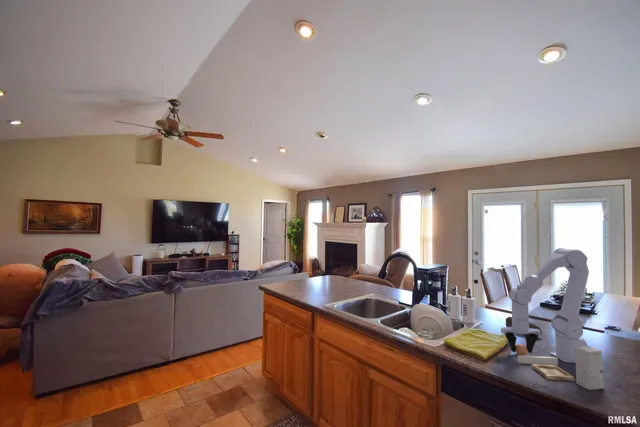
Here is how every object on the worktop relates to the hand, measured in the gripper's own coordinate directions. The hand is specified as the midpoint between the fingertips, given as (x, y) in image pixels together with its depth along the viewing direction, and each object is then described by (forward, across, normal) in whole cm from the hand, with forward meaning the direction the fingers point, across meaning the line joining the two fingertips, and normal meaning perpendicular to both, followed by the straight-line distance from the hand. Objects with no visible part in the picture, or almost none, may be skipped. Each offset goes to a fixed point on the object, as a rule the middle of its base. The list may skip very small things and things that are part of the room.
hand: (521, 351), depth 118 cm
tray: (+1, -2, +15) cm, 15 cm away
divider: (+1, -2, +7) cm, 7 cm away
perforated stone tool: (+2, -16, -26) cm, 31 cm away
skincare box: (+2, -9, +22) cm, 24 cm away
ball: (+1, 0, 0) cm, 1 cm away
